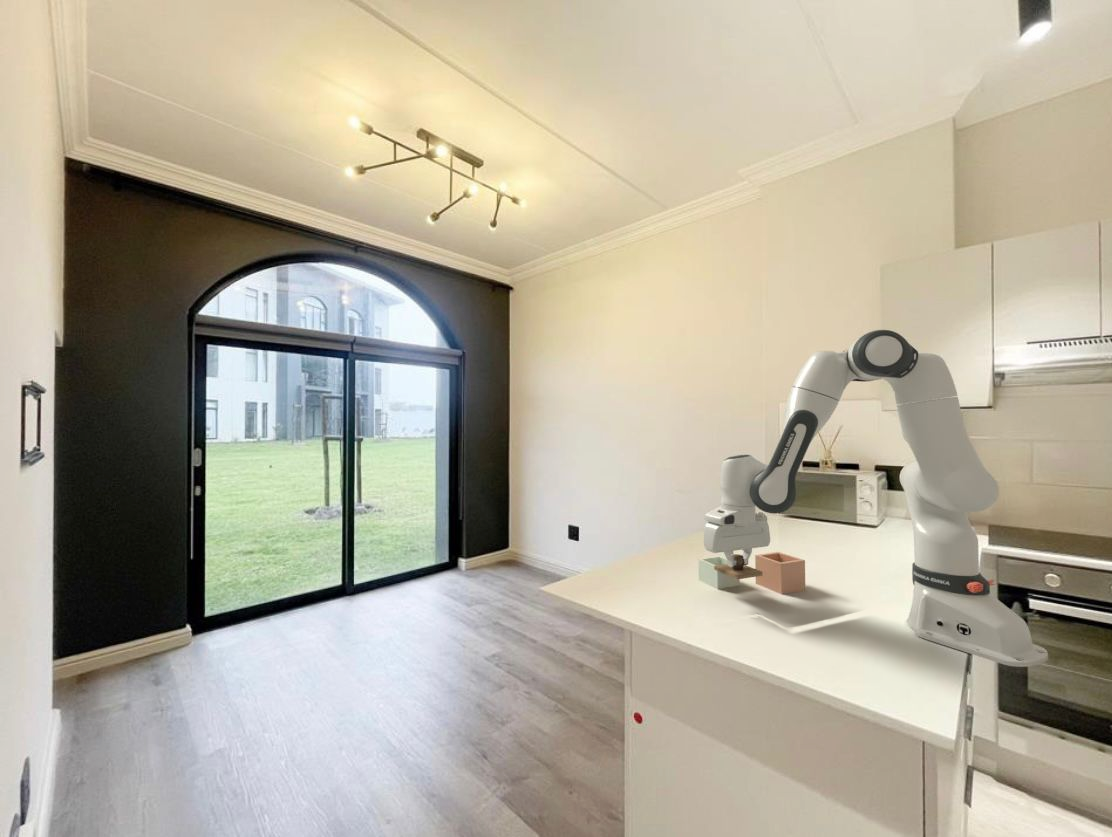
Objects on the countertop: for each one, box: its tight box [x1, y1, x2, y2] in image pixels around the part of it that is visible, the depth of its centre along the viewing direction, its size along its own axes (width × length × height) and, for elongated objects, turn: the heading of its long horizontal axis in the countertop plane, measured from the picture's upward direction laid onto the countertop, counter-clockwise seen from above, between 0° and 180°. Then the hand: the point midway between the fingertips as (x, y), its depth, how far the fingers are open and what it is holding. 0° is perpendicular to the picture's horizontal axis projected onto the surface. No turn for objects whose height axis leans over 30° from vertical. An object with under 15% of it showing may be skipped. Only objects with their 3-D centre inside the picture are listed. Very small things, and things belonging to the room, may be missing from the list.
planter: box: [754, 551, 806, 595], centre depth 126 cm, size 9×9×9 cm
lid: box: [714, 553, 763, 580], centre depth 119 cm, size 9×9×4 cm
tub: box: [698, 555, 741, 590], centre depth 129 cm, size 8×8×7 cm
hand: (737, 565), depth 119 cm, fingers closed on lid, 3 cm apart
